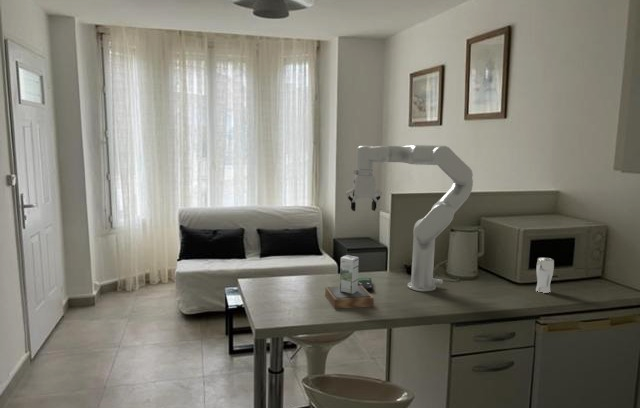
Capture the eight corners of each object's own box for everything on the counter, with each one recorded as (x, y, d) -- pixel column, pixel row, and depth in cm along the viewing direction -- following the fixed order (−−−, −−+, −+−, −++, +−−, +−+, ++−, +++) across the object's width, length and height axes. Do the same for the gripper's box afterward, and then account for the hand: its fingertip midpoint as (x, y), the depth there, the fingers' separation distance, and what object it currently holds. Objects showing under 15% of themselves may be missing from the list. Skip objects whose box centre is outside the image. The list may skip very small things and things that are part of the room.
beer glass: (536, 293, 210) (539, 260, 208) (533, 288, 217) (535, 256, 215) (553, 294, 208) (556, 261, 207) (549, 290, 215) (552, 257, 213)
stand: (361, 293, 203) (361, 284, 202) (373, 306, 187) (373, 296, 187) (325, 295, 199) (325, 286, 199) (334, 308, 184) (334, 298, 183)
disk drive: (373, 293, 205) (370, 283, 220) (373, 287, 205) (371, 277, 220) (349, 293, 206) (348, 282, 220) (349, 286, 205) (348, 276, 220)
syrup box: (358, 290, 194) (359, 256, 192) (351, 294, 189) (352, 259, 187) (345, 288, 197) (346, 254, 195) (339, 292, 192) (340, 257, 190)
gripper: (349, 173, 208) (348, 212, 210) (385, 173, 212) (384, 211, 214) (344, 172, 215) (343, 209, 217) (379, 172, 219) (378, 209, 221)
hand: (363, 210), depth 216 cm, fingers open, 9 cm apart
